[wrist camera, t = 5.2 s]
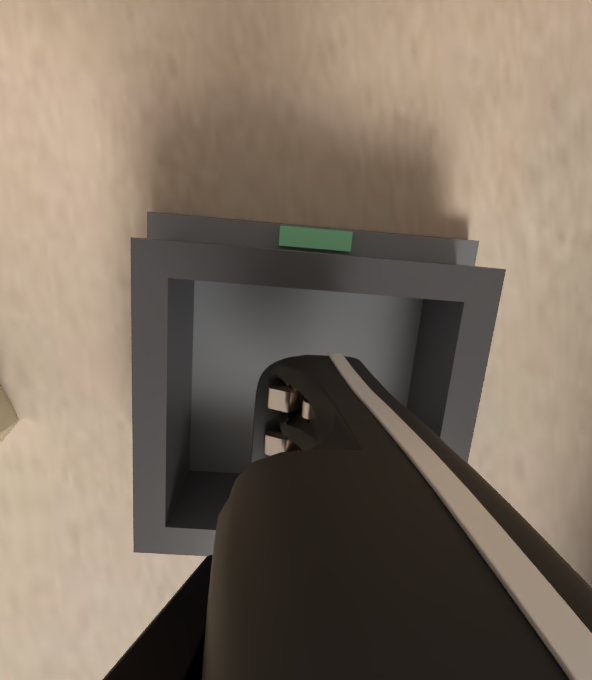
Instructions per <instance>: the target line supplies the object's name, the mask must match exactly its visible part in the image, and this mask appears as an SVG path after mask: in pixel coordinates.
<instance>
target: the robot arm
mask: <svg viewBox="0 0 592 680" xmlns="http://www.w3.org/2000/svg"><path fill="white" fill-rule="evenodd" d="M212 556H213V555H209V556H207V557H206V558H205V560H204V561H203V562H202V563H201V564H200V565H199V567H198V568H197V569H196V570H195V571H194V573H193V574H192V575H191V576H190V577H189V578H188V580H187V581H186V582H185V583H184V584H183V585H182V587H181V588H180V589H179V590H178V591H177V593H176V594H175V595H174V596H173V597H172V598H171V600H170V601H169V602H168V603H167V604H166V605H165V607H164V608H163V609H162V610H161V611H160V613H159V614H158V615H157V616H156V617H155V618H154V620H153V621H152V622H151V623H150V624H149V625H148V627H147V628H146V629H145V630H144V631H143V633H142V634H141V635H140V636H139V637H138V638H137V640H136V641H135V642H134V643H133V644H132V646H131V647H130V648H129V649H128V650H127V651H126V653H125V654H124V655H123V656H122V657H121V658H120V660H119V661H118V662H117V663H116V664H115V666H114V667H113V668H112V669H111V670H110V671H109V673H108V674H107V675H106V676H105V677H104V678H103V680H202V669H203V655H204V642H205V630H206V617H207V604H208V594H209V584H210V575H211V565H212Z"/></svg>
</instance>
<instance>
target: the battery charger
mask: <svg viewBox="0 0 592 680" xmlns="http://www.w3.org/2000/svg"><path fill="white" fill-rule="evenodd" d="M202 680H592V588H591V587H590V586H589V585H588V584H587V583H586V582H585V581H584V580H583V579H582V578H581V577H580V575H579V574H578V573H577V572H576V571H575V570H574V569H573V568H572V567H571V566H570V565H569V564H568V563H567V562H566V561H565V560H564V559H563V558H562V557H561V556H560V555H559V554H558V553H557V552H556V551H555V550H554V549H553V547H552V546H551V545H550V544H549V543H548V542H547V541H546V540H545V539H544V538H543V537H542V536H541V535H540V534H539V533H538V532H537V531H536V530H535V529H534V528H533V527H532V526H531V525H530V524H529V523H528V522H527V521H526V520H525V519H524V518H523V517H522V516H521V515H520V514H519V513H518V512H517V511H516V510H515V509H514V508H513V507H512V506H511V505H510V504H509V503H508V502H507V501H506V500H505V499H504V498H503V497H502V496H501V495H500V494H499V493H498V492H497V491H496V490H495V489H494V488H493V487H492V486H491V485H490V484H489V483H488V482H487V481H486V480H485V479H483V478H482V477H481V476H480V475H479V474H478V473H477V472H476V471H475V470H474V469H473V468H472V467H471V466H470V465H469V464H468V463H467V462H466V461H465V460H464V459H462V458H461V457H460V456H459V455H458V454H457V453H456V452H455V451H454V450H453V449H452V448H450V447H449V446H448V445H447V444H446V443H445V442H444V441H443V440H442V439H441V438H439V437H438V436H437V435H436V434H435V433H434V432H433V431H432V430H431V429H430V428H428V427H427V426H426V425H425V424H424V423H423V422H422V421H421V420H419V419H418V418H417V417H416V416H415V415H414V414H413V413H411V412H410V411H409V410H408V409H407V408H406V407H404V406H403V405H402V404H401V403H400V402H398V401H397V400H396V399H395V398H394V397H393V396H392V395H391V394H390V393H389V392H388V391H387V390H386V389H385V388H384V387H383V385H382V384H381V383H380V382H379V381H378V380H377V379H376V378H375V377H374V376H373V375H372V374H371V373H370V371H369V370H368V369H367V368H366V367H365V366H364V364H363V363H362V362H361V361H360V360H358V359H357V358H353V357H344V356H343V354H341V353H327V355H326V356H325V355H301V356H294V357H287V358H284V359H281V360H279V361H276V362H274V363H272V364H271V365H269V366H268V367H267V368H266V369H265V370H264V372H263V373H262V374H261V376H260V378H259V381H258V384H257V390H256V395H255V409H254V421H253V436H252V455H251V464H250V465H249V466H248V467H247V468H246V469H245V470H244V471H243V472H242V473H241V474H240V475H239V476H238V477H237V478H236V480H235V482H234V485H233V487H232V489H231V494H230V497H229V499H228V500H227V502H226V504H225V505H224V507H223V509H222V510H221V512H220V513H219V516H218V521H217V527H216V533H215V541H214V548H213V556H212V565H211V575H210V584H209V594H208V604H207V617H206V630H205V642H204V655H203V669H202Z"/></svg>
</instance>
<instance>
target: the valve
mask: <svg viewBox="0 0 592 680" xmlns="http://www.w3.org/2000/svg"><path fill="white" fill-rule="evenodd" d="M18 421H19V419H18V417H17V415H16V413H15V411H14V409H13V407H12V405H11V404H10V402H9V400H8V398H7V396H6V394H5V392H4V390H3V389H2V387H1V386H0V444H1V443H2V441H3V440H4V439H5V438H6V436H7V435H8V434H9V433H10V431H11V430H12V429H13V428H14V426H15V425H16V424H17V423H18Z"/></svg>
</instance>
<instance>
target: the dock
mask: <svg viewBox="0 0 592 680" xmlns="http://www.w3.org/2000/svg"><path fill="white" fill-rule="evenodd" d="M478 244H479V241H474V240H463V239H451V238H440V237H429V236H417V235H406V234H395V233H383V232H372V231H361V230H349V229H338V228H326V227H315V226H304V225H292V224H281V223H270V222H258V221H247V220H235V219H224V218H213V217H201V216H190V215H179V214H167V213H156V212H147V238H131V317H132V424H133V531H134V552H139V553H158V554H177V555H196V556H209V555H213V548H214V541H215V533H216V527H217V521H218V516H219V513H220V512H221V510H222V509H223V507H224V505H225V504H226V502H227V500H228V499H229V497H230V494H231V489H232V487H233V485H234V482H235V480H236V478H237V477H238V476H239V475H240V474H241V473H242V472H243V471H244V470H245V469H246V468H247V467H248V466H249V465H250V464H251V455H252V436H253V421H254V409H255V395H256V390H257V384H258V381H259V378H260V376H261V374H262V373H263V372H264V370H265V369H266V368H267V367H268V366H269V365H271V364H272V363H274V362H276V361H279V360H281V359H284V358H287V357H294V356H301V355H325V356H326V355H327V353H341V354H343V356H344V357H353V358H357V359H358V360H360V361H361V362H362V363H363V364H364V366H365V367H366V368H367V369H368V370H369V371H370V373H371V374H372V375H373V376H374V377H375V378H376V379H377V380H378V381H379V382H380V383H381V384H382V385H383V387H384V388H385V389H386V390H387V391H388V392H389V393H390V394H391V395H392V396H393V397H394V398H395V399H396V400H397V401H398V402H400V403H401V404H402V405H403V406H404V407H406V408H407V409H408V410H409V411H410V412H411V413H413V414H414V415H415V416H416V417H417V418H418V419H419V420H421V421H422V422H423V423H424V424H425V425H426V426H427V427H428V428H430V429H431V430H432V431H433V432H434V433H435V434H436V435H437V436H438V437H439V438H441V439H442V440H443V441H444V442H445V443H446V444H447V445H448V446H449V447H450V448H452V449H453V450H454V451H455V452H456V453H457V454H458V455H459V456H460V457H461V458H462V459H464V460H465V461H466V462H468V457H469V452H470V447H471V442H472V437H473V432H474V427H475V422H476V417H477V412H478V407H479V402H480V397H481V392H482V387H483V382H484V377H485V372H486V367H487V362H488V356H489V351H490V346H491V341H492V336H493V331H494V326H495V321H496V316H497V311H498V306H499V301H500V296H501V291H502V286H503V281H504V276H505V271H506V269H497V268H487V267H478V266H475V261H476V255H477V249H478Z"/></svg>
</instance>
